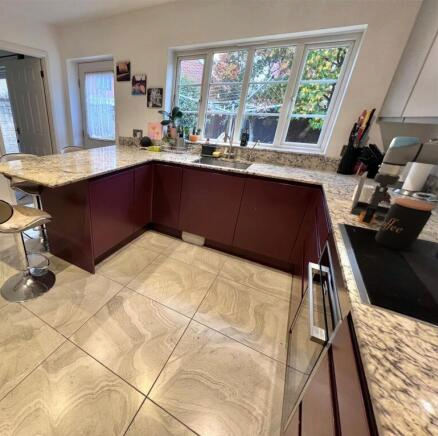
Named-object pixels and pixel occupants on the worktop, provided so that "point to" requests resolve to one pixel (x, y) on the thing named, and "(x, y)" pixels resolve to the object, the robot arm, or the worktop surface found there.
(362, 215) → the coffee pod
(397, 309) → the worktop surface
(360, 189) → the brew lid
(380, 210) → the drip tray
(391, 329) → the worktop surface
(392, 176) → the robot arm
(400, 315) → the worktop surface
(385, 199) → the pottery mug
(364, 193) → the white cup
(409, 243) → the coffee jar
